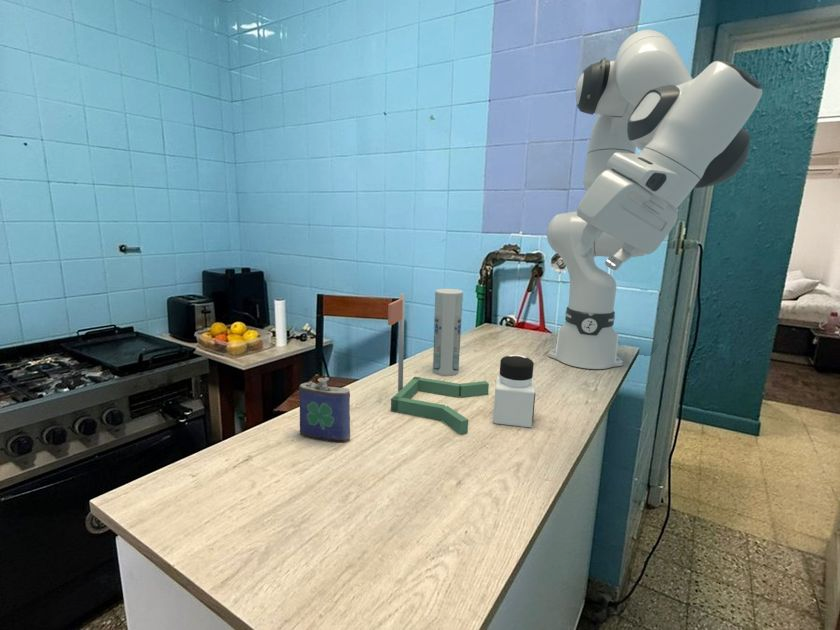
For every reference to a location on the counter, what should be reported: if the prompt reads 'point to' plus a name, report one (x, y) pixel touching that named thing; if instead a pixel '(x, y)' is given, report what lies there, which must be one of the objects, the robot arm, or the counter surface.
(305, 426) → the flask
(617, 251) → the robot arm
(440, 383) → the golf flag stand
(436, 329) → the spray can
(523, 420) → the medicine bottle
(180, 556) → the counter surface
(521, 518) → the counter surface
